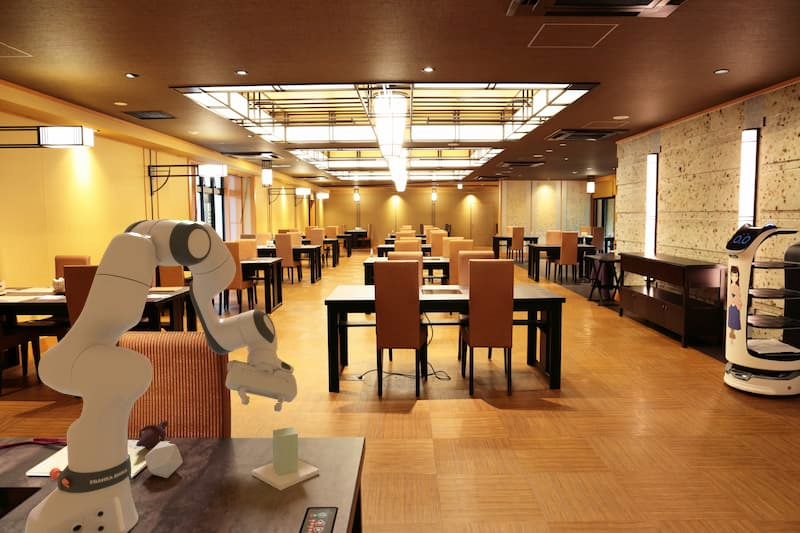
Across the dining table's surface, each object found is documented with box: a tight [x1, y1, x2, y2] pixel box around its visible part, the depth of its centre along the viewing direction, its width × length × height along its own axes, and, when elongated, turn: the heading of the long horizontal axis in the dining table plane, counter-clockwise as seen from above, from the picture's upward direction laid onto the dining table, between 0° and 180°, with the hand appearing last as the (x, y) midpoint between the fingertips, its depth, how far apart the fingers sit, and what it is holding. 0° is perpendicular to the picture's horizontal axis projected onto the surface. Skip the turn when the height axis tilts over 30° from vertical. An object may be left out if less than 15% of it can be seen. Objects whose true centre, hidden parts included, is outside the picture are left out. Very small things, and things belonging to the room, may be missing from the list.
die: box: [144, 441, 184, 479], centre depth 139 cm, size 8×9×10 cm
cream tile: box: [251, 459, 320, 491], centre depth 140 cm, size 12×12×1 cm
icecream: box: [135, 420, 169, 450], centre depth 155 cm, size 7×8×15 cm
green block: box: [272, 426, 299, 476], centre depth 139 cm, size 5×5×10 cm
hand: (262, 406), depth 148 cm, fingers open, 8 cm apart
